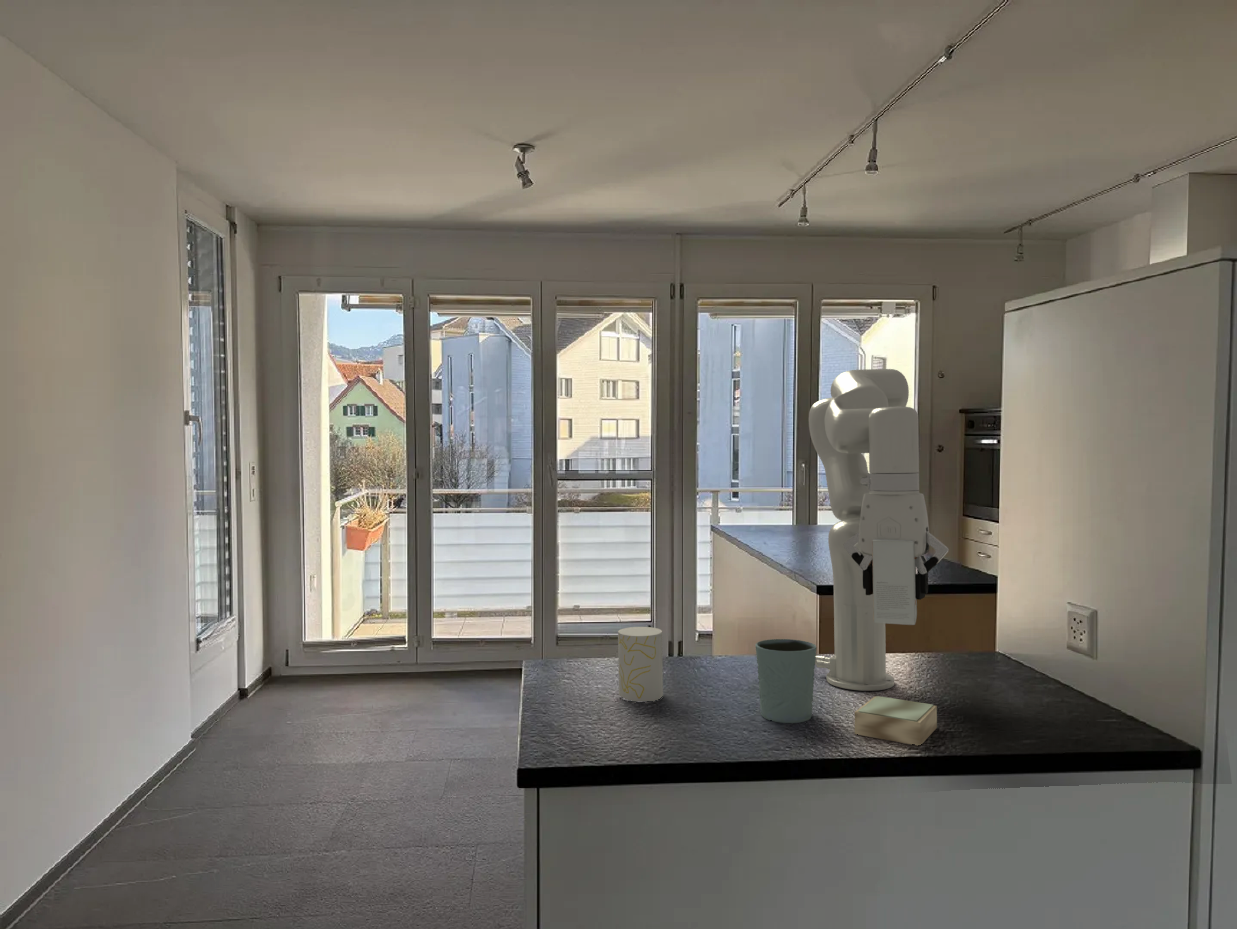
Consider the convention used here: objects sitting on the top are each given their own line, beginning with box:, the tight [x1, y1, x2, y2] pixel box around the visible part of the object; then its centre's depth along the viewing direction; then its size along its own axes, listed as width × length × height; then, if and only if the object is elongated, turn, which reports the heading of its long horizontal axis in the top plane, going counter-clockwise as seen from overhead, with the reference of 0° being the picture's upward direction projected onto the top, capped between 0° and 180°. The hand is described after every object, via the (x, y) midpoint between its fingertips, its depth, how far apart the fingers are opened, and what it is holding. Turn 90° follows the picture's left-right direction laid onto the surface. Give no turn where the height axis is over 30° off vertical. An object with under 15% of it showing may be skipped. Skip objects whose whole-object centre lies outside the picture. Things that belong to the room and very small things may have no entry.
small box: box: [872, 539, 918, 626], centre depth 132 cm, size 8×6×13 cm
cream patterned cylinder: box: [617, 626, 664, 702], centre depth 153 cm, size 8×8×12 cm
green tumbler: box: [754, 638, 817, 724], centre depth 141 cm, size 10×10×12 cm
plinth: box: [854, 695, 938, 746], centre depth 132 cm, size 10×10×4 cm
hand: (895, 595), depth 132 cm, fingers closed on small box, 7 cm apart
